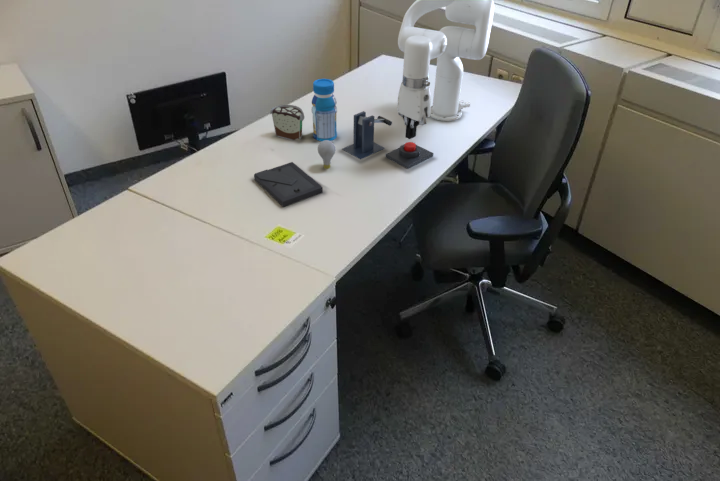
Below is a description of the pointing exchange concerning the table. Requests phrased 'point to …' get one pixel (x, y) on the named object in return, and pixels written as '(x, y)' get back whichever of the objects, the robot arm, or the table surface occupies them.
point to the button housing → (409, 156)
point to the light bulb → (326, 152)
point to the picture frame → (288, 184)
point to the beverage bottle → (324, 110)
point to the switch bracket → (363, 138)
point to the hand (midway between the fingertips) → (410, 137)
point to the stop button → (410, 147)
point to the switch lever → (376, 120)
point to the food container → (287, 121)
